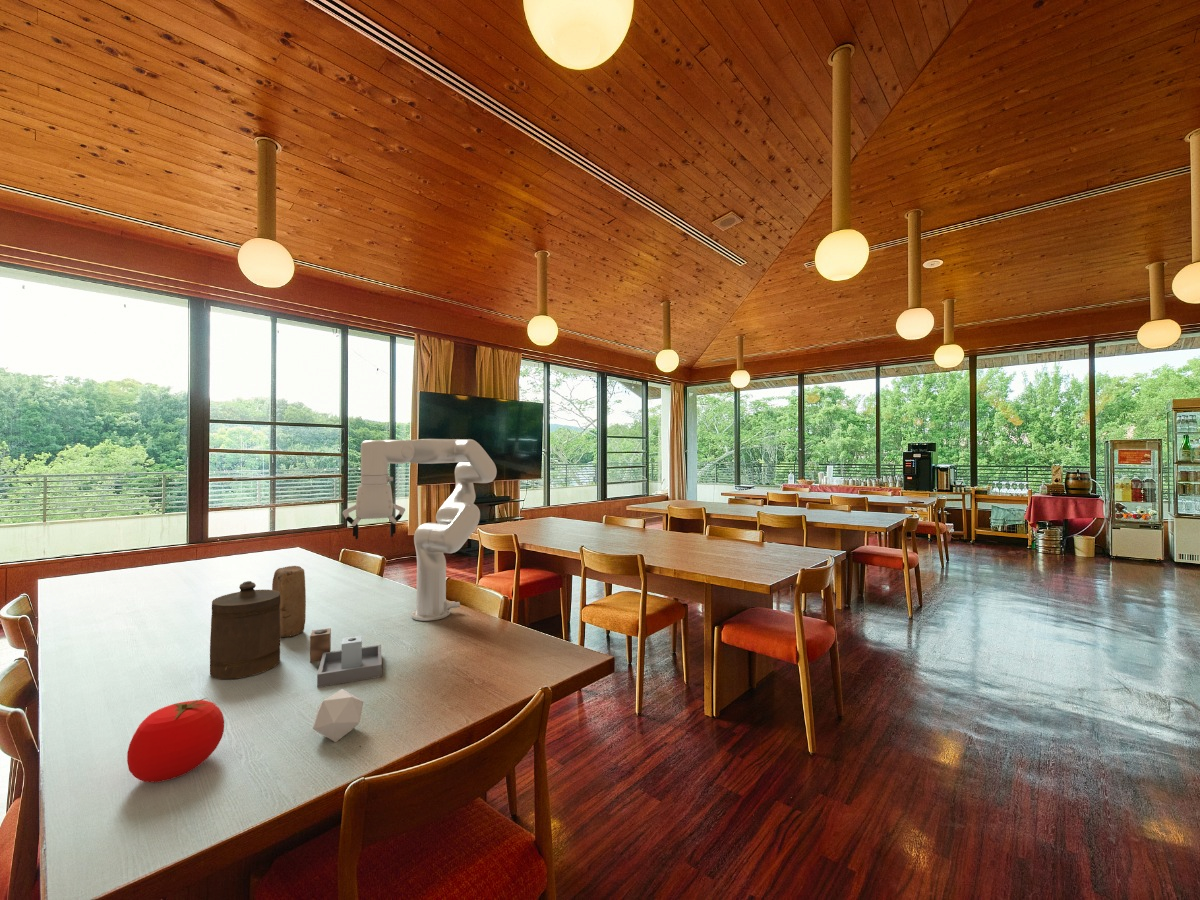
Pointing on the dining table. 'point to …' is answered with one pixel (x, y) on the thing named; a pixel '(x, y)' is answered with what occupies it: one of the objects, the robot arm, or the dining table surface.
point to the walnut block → (319, 643)
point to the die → (338, 715)
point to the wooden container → (245, 632)
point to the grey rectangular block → (351, 652)
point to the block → (291, 599)
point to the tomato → (175, 740)
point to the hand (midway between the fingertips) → (374, 537)
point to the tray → (334, 675)
